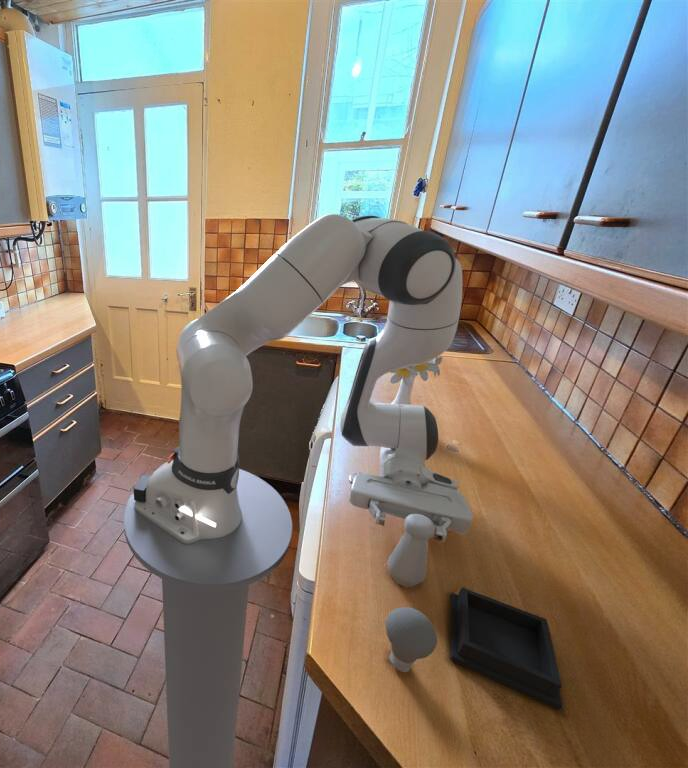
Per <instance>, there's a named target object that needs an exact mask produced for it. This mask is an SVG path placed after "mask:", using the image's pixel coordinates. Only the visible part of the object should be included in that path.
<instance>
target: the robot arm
mask: <svg viewBox="0 0 688 768" xmlns="http://www.w3.org/2000/svg"><path fill="white" fill-rule="evenodd" d="M352 281H353V282H354V283H356V284H357V285H359V286H360V287H361V288H362V289H364V290H366V291H368V292H370V293H371V294H374V295H377V296H379V297H383V298H384V299H386V300H387V301H389V303H388V309H387V318H386V322H385V324H384V326H383V328H382V329H381V331H380V332H379V333H378V334H376V336H374V337H372V338H370V339H368V340H367V342H366V344H365V346H364V348H363V350H362V352H361V355H360V359H359V362H358V364H357V369H356V371H355V375H354V379H353V381H352V386H351V389H350V392H349V395H348V399H347V402H346V405H345V407H344V408H343V410H342V413H341V416H340V421H339V427H340V428H339V430H340V433H341V436H342V438H343V439H344V440H346V442H348V443H349V444H350V445H351V446H353V447H375V448H380V451H379V466H380V468H379V469H380V470H379V475H375V474H370V473H365V472H360V471H359V472H357V473H354V472H353V473H350V475H349V478H348V482H349V484H350V485H351V488H350V492H349V496H348V502H349V503H350V504H351V505H352V506H353V507H357V508H361V509H365V510H368V513H369V514H370V516H372V518H373V519H374V524H375V525H379V526H382V527H384V526H385V524H386V520H387V518H386V515H389V516H393V517H396V518H400V519H404V520H405V519H406V517H407V516H409V515H410V514H420V515H423V516H425V517H427V518H429V519H430V520H431V521H432V522H433V524H434V525H435V533H434V536H433V539H434V540H436V541H440V542H446V539H447V535H448V534H447V533H449V531H451V532H456V533H460V534H466V533H467V532H468V531H470V528H471V526H472V524H473V519H474V516H473V513H472V510H471V507H470V505H469V503H468V501H467V499H466V497H465V496H464V495H463V494H462V493H461V492H460V491H458V490H459V483H458V482H457V481H456V480H455V479H453V478H450V477H447V476H444V475H442V474H439V473H437V472H435V471H432V470H431V469H429V468H428V467H426V461H428V460H429V459H430V458H431V457H432V456H433V455H434V454H435V453H436V451H437V449H438V443H439V429H438V423H437V419H436V416H435V415H434V414H433V413H432V411H431V410H430V409H429V408H427V407H426V406H425V405H419V404H411V405H408V404H390V403H386V402H374V401H371V399H372V395H373V392H374V390H375V387H376V384H377V382H378V380H379V379H380V378H381V377H382V376H384V375H386V374H388V373H391V371H394V370H398V369H401V368H405V367H409V366H414V365H419V364H422V363H426V362H428V361H430V360H432V359H434V358H436V357H440V356H442V355H443V354H444V353H445V352H446V351H448V349H449V348H450V347H451V345H452V343H453V341H454V338H455V336H456V333H457V330H458V325H459V322H460V315H461V311H462V302H463V301H462V300H463V289H464V288H463V268H462V265H461V263H460V261H459V260H458V259H457V258H456V254H455V251H454V249H453V246H452V245H451V243H450V242H448V241H447V240H446V239H445V238H444V237H442V236H440V235H439V234H437V233H435V232H433V231H430V230H423V229H421V228H419V227H416V226H414V225H411V224H409V223H407V222H405V221H402V220H397V219H392V218H384V217H380V216H377V215H363V216H358V217H354V218H352V219H350V218H348V217H347V216H345V215H342V214H338V213H329V214H325V215H322V216H321V217H319V218H317V219H316V220H315V221H313V222H311V223H310V224H309V225H307V226H306V227H305V228H303V229H302V230H300V231H299V232H298V233H297V234H296V235H294V236H293V237H291V239H289V240H288V241H287V242H286V243H285V244H284V245H282V246H281V247H280V248H279V249H278V250H277V251H276V252H275V253H274V254H273V255H272V256H271V257H270V258H269V259H267V261H266V262H265V263H264V264H263V265H262V266H261V267H260V268H259V269H257V271H256V272H254V273H253V274H252V275H251V276H250V277H249V279H247V280H246V281H245V282H244V283H243V284H242V285H241V286H240V287H239V288H238V289H236V291H234V292H233V293H231V294H230V295H229V296H227V297H226V298H224V300H222V301H220V302H219V303H217V304H216V305H215V306H213V307H212V308H210V309H209V310H207V312H205V313H203V314H202V315H201V316H200V317H198V318H196V319H194V320H192V321H190V322H188V323H187V324H186V325H185V326H184V327H183V329H182V330H181V332H180V334H179V336H178V339H177V342H176V349H175V350H176V351H175V352H176V358H177V362H178V370H179V377H180V385H181V386H180V387H181V388H180V389H181V390H180V410H179V419H178V430H179V431H178V437H179V441H178V442H179V444H178V445H179V446H177V447H176V448H175V449H173V450H172V454H170V455H169V456H168V458H167V461H166V462H165V463H163V464H161V465H160V466H159V467H157V468H156V469H155V471H154V472H153V473H152V474H151V475H147V474H142V475H141V477H140V478H139V480H138V481H137V482H136V484H135V486H133V488H132V490H133V493H134V500H135V509H136V510H137V511H138V512H139V513H141V514H142V515H144V516H145V517H147V518H148V519H149V520H151V521H152V522H154V523H155V524H157V525H158V526H159V527H161V528H162V529H164V530H165V531H167V532H168V533H169V534H171V535H172V536H174V537H175V538H177V539H178V540H180V541H181V542H182V543H185V544H189V543H193V542H196V541H198V540H202V539H215V538H220V537H223V536H226V535H228V534H230V533H232V532H233V531H234V530H235V529H236V528H237V527H238V526H239V524H240V522H241V519H242V511H241V508H240V505H239V500H238V493H237V484H238V480H239V469H240V454H239V453H238V451H239V436H240V424H241V419H242V415H243V412H244V409H245V405H246V404H247V403H248V402H249V400H250V398H251V396H252V393H253V388H254V386H253V385H254V384H253V374H252V373H253V372H252V369H251V364H250V361H249V359H248V357H247V356H249V355H250V354H251V353H253V352H254V351H256V350H257V349H259V348H262V347H263V346H265V345H267V344H268V343H271V342H274V341H280V340H282V339H285V338H286V337H288V336H289V335H290V334H291V333H292V332H293V331H295V330H296V329H297V328H298V327H299V326H300V325H301V324H302V323H303V322H305V321H306V320H307V319H308V318H309V317H310V316H311V315H312V314H314V312H315V311H317V310H318V309H319V308H321V306H322V305H323V304H324V303H325V302H326V301H328V299H330V298H331V297H332V296H333V295H334V294H335V293H336V292H337V291H338V289H340V288H341V287H342V286H344V285H345V284H347V283H350V282H352Z"/></svg>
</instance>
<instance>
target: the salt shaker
mask: <svg viewBox="0 0 688 768" xmlns="http://www.w3.org/2000/svg"><path fill="white" fill-rule="evenodd" d="M435 527H436V526H435V525H434V524H433V522H432V521H431V520H430V519H429V518H427V517H425V516H423V515H420V514H410V515H409V516H407V517H406V519H404V523H403V528H404V530H405V532H404V533H403V534H402V536H401V538H400V539H399V541H398V542H397V544H396V546H395V547H394V549H393V551H392V552H391V553H390V555H389V556H388V559H387V569H388V572H389V575H390V577H391V578H392V579H393V581H394V582H395V584H397V585H399V586H402V587H405V588H407V589H409V588H413V587H414V586H417V585H419V584H421V583H422V582H423V581H424V580H425V579H426V574H427V561H428V560H427V558H428V547H429V546H428V545H429V540H431V538H434V533H435Z"/></svg>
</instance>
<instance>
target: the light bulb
mask: <svg viewBox="0 0 688 768" xmlns="http://www.w3.org/2000/svg"><path fill="white" fill-rule="evenodd" d="M385 632H386V636H387V638H388V640H389V642H390V649H391V652H390V655H389V661H390V664H391V665H392V667H394V668H395V669H396V670H398V671H400V672H403V673H407V672H409V671H410V670H411V668H412V665H413V663H415V662H416V661H417V660H421V659H425V658H428V657H429V656H431V655H432V654H433V653H434V651H435V649H436V648H437V644H438V636H437V631H436V628H435V627H434V625H433V623H432V622H431V621H430V619H429V618H428V617H427V615H425V614H424V613H423V612H421V611H420V610H418V609H415V608H413V607H410V606H409V607H408V606H400V607H397V608H394V609H393V610H391V611H390V613H389V614H388V615H387V617H386V619H385Z"/></svg>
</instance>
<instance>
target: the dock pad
mask: <svg viewBox="0 0 688 768" xmlns="http://www.w3.org/2000/svg"><path fill="white" fill-rule="evenodd" d="M549 627H550V626H549V623H548V619H547V618H545V617H542V616H540V615H538V614H537V615H536V614H534V613H531V612H529V611H526V610H523V609H522V608H519V607H515V606H513V605H510V604H507V603H505V602H502V601H499V600H498V599H494V598H492V597H489V596H487V595H484V594H481V593H480V592H476V591H474V590H471V589H467V588H466V587H463V586H461V587H460V590H459V592H458V593H455V592H451V594H450V657H449V658H450V661H451V662H453V663H455V664H457V665H459V666H462V667H464V668H466V669H467V670H470V671H473V672H474V673H477V674H480V675H481V676H484V677H486V678H488V679H490V680H492V681H494V682H497V683H499V684H501V685H502V686H506V687H508V688H510V689H512V690H514V691H516V692H519V693H521V694H522V695H525V696H527V697H529V698H531V699H533V700H536V701H538V702H541V703H542V704H545V705H546V706H549V707H551V708H554V709H555V710H557V711H561V709H562V708H563V701H562V697H561V692H560V691H561V689H562V687H563V685H562V679H561V676H560V672H559V668H558V662H557V658H556V654H555V650H554V645H553V644H554V643H553V640H552V635H551V631H550V628H549Z"/></svg>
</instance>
